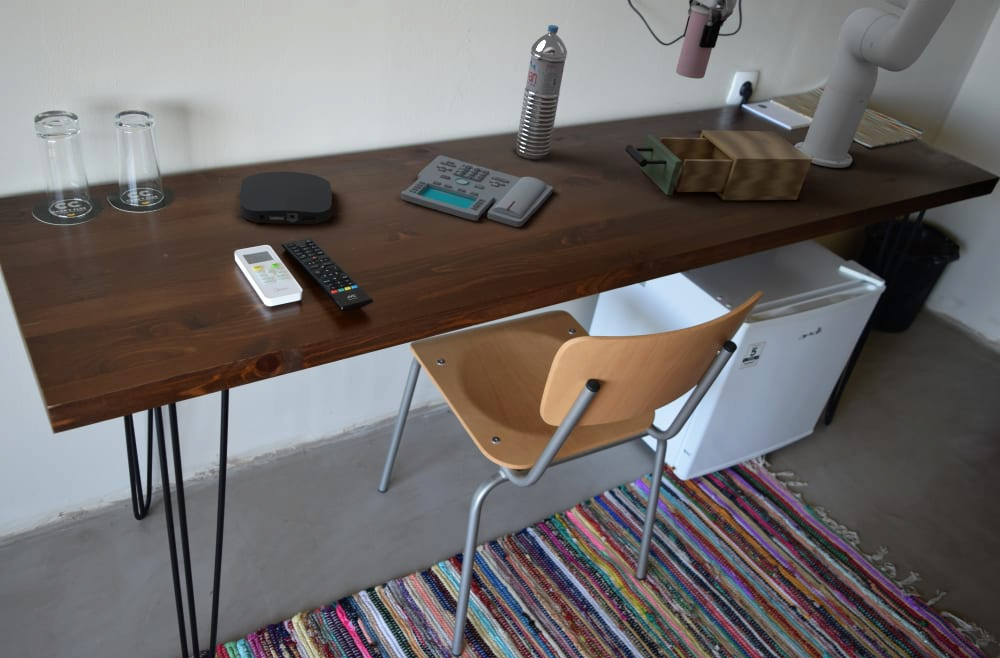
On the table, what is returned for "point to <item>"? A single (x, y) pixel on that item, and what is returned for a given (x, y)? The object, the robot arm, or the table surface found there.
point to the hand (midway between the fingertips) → (698, 41)
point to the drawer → (683, 164)
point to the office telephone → (477, 192)
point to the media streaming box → (286, 198)
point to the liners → (694, 45)
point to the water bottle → (541, 96)
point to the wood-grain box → (760, 165)
